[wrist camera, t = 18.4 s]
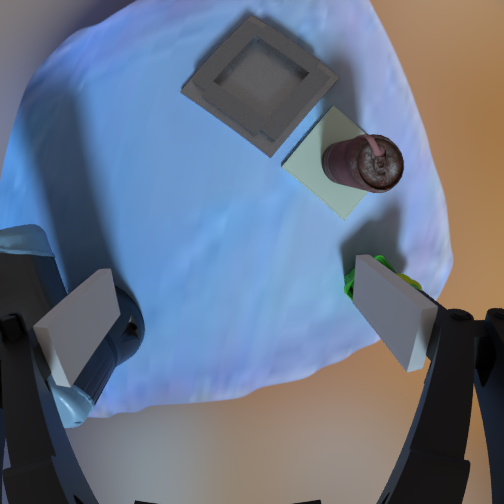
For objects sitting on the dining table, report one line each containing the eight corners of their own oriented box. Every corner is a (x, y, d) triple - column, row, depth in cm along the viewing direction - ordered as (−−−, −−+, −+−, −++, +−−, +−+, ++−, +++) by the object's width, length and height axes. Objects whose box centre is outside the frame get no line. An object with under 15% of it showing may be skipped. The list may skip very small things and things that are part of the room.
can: (343, 132, 39) (384, 120, 25) (368, 168, 40) (416, 172, 27) (310, 156, 40) (340, 152, 26) (336, 192, 41) (375, 205, 28)
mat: (343, 219, 43) (344, 220, 42) (281, 167, 41) (281, 167, 40) (390, 160, 40) (392, 160, 40) (332, 106, 38) (333, 105, 38)
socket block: (270, 158, 41) (272, 157, 37) (181, 93, 38) (175, 87, 34) (337, 79, 37) (344, 73, 34) (251, 18, 34) (251, 8, 31)
